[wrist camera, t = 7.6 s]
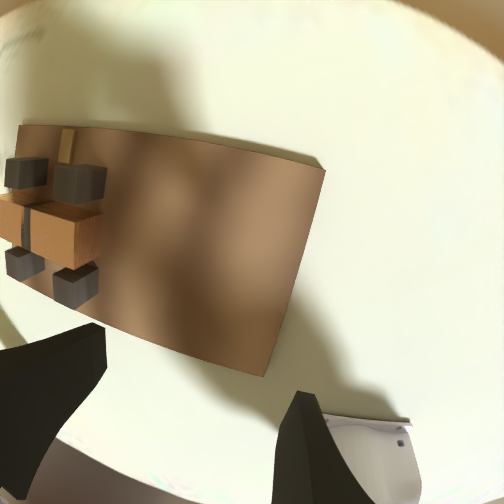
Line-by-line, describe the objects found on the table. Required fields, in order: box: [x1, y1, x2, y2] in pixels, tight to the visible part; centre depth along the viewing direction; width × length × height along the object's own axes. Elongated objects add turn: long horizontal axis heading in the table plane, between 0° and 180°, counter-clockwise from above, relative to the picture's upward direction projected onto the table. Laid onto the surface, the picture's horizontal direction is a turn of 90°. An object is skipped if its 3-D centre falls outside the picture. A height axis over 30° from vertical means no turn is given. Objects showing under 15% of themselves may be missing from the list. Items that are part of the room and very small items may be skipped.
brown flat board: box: [4, 125, 326, 377], centre depth 17 cm, size 24×14×4 cm, turn 77°
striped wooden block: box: [0, 191, 103, 270], centre depth 17 cm, size 10×3×3 cm, turn 77°
